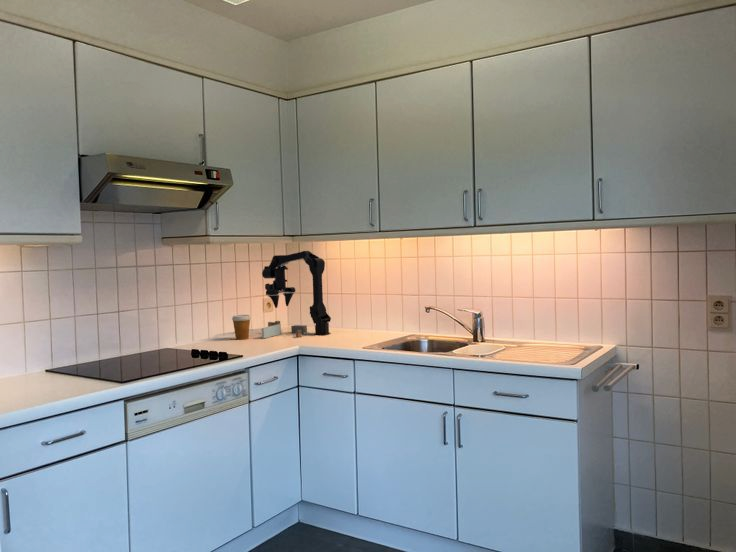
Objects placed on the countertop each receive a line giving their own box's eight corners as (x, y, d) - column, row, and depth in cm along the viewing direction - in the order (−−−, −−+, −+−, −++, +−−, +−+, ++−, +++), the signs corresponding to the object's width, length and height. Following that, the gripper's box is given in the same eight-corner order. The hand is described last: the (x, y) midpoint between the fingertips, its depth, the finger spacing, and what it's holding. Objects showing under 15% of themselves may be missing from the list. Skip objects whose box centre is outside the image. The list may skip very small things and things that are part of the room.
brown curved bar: (267, 333, 344) (267, 320, 344) (271, 332, 346) (270, 319, 345) (298, 337, 324) (297, 323, 324) (301, 336, 326) (301, 323, 325)
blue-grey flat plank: (279, 333, 338) (279, 323, 338) (281, 333, 338) (281, 323, 337) (262, 338, 324) (261, 327, 324) (264, 338, 324) (263, 327, 323)
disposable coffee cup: (253, 337, 331) (252, 314, 330) (248, 340, 321) (247, 316, 321) (236, 337, 332) (235, 314, 331) (230, 340, 322) (229, 317, 322)
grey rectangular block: (307, 332, 341) (306, 325, 341) (302, 334, 338) (301, 326, 337) (296, 332, 345) (296, 325, 345) (291, 333, 341) (291, 326, 341)
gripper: (279, 277, 357) (281, 305, 357) (257, 279, 341) (258, 308, 342) (295, 277, 351) (296, 305, 352) (273, 279, 335) (275, 308, 336)
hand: (281, 306), depth 345 cm, fingers open, 9 cm apart
